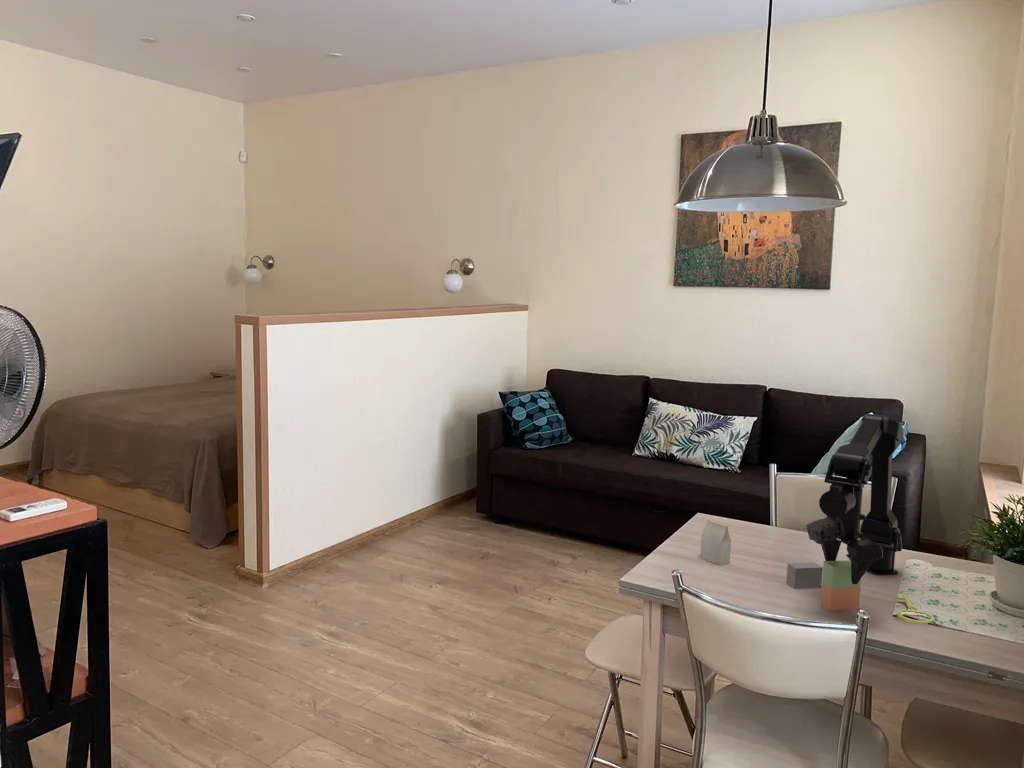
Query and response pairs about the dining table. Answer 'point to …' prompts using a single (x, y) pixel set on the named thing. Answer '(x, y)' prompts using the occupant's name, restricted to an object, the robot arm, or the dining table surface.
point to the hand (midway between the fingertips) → (841, 576)
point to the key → (912, 609)
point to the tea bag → (716, 543)
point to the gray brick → (804, 575)
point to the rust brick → (840, 598)
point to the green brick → (838, 575)
